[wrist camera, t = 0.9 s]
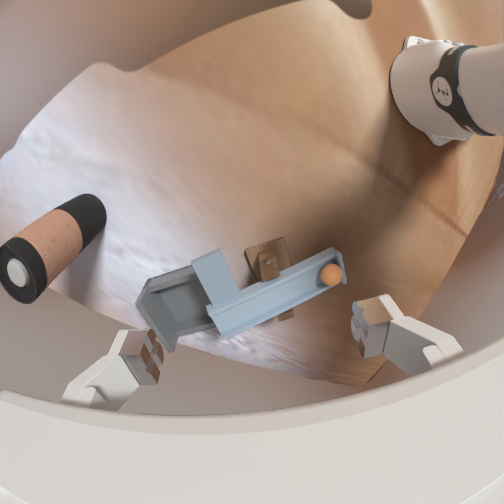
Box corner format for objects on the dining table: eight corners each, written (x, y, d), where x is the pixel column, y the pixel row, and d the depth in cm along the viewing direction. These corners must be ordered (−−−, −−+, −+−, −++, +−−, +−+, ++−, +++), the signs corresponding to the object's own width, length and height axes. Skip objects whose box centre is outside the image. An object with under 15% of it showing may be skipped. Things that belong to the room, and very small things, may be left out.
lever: (320, 203, 37) (331, 207, 35) (337, 275, 42) (347, 282, 40) (183, 264, 35) (185, 273, 32) (220, 331, 40) (224, 343, 38)
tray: (210, 258, 44) (205, 282, 38) (235, 310, 49) (234, 338, 42) (147, 279, 45) (135, 303, 39) (176, 326, 50) (169, 352, 44)
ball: (334, 256, 40) (344, 265, 37) (337, 274, 41) (347, 284, 38) (314, 265, 39) (324, 275, 37) (319, 282, 41) (328, 293, 38)
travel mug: (99, 243, 42) (35, 316, 24) (66, 221, 40) (-7, 282, 22) (114, 206, 39) (40, 270, 21) (78, 183, 37) (-6, 232, 19)
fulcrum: (282, 237, 43) (289, 259, 36) (299, 290, 47) (307, 317, 41) (245, 249, 43) (245, 273, 37) (265, 300, 48) (269, 328, 41)
